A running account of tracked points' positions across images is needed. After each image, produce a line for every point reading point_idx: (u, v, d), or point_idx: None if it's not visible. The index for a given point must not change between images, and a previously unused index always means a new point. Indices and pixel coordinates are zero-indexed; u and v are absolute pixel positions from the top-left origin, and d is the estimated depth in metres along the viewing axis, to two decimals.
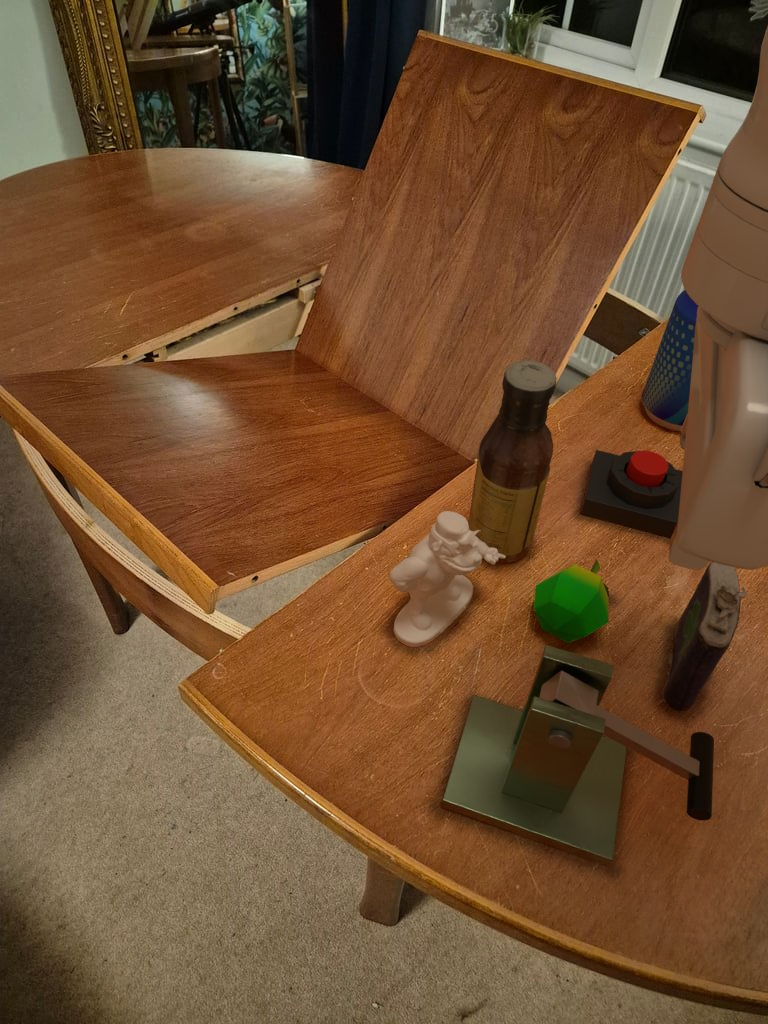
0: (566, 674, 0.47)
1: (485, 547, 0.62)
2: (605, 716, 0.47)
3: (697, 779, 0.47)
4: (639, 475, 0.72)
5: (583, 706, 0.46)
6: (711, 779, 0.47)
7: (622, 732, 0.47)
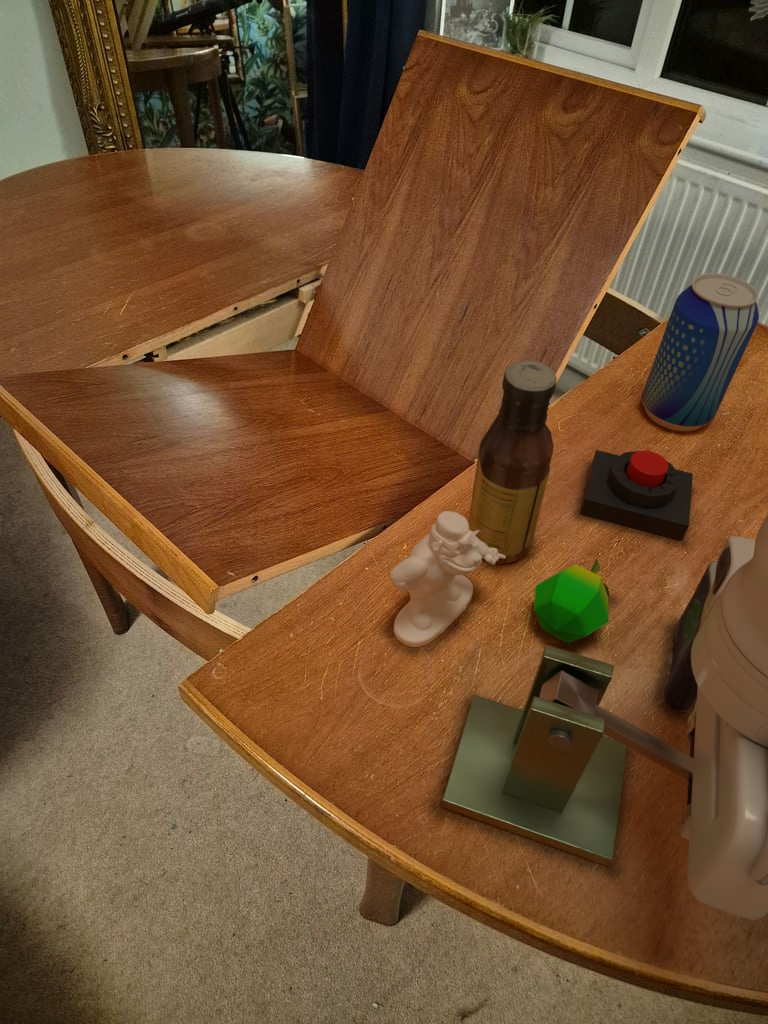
0: (566, 674, 0.47)
1: (485, 547, 0.62)
2: (605, 716, 0.47)
3: None
4: (639, 475, 0.72)
5: (583, 706, 0.46)
6: None
7: (622, 732, 0.47)
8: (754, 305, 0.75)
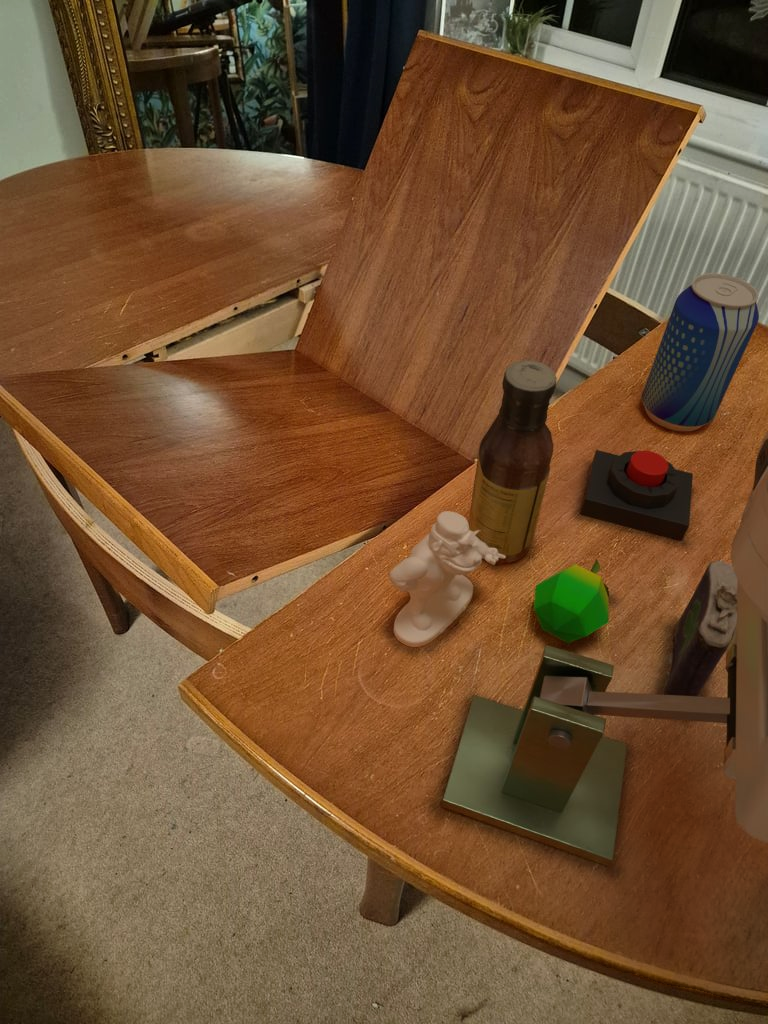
0: (549, 677, 0.48)
1: (485, 547, 0.62)
2: (605, 698, 0.46)
3: (729, 717, 0.42)
4: (639, 475, 0.72)
5: (569, 698, 0.46)
6: None
7: (627, 705, 0.45)
8: (754, 305, 0.75)
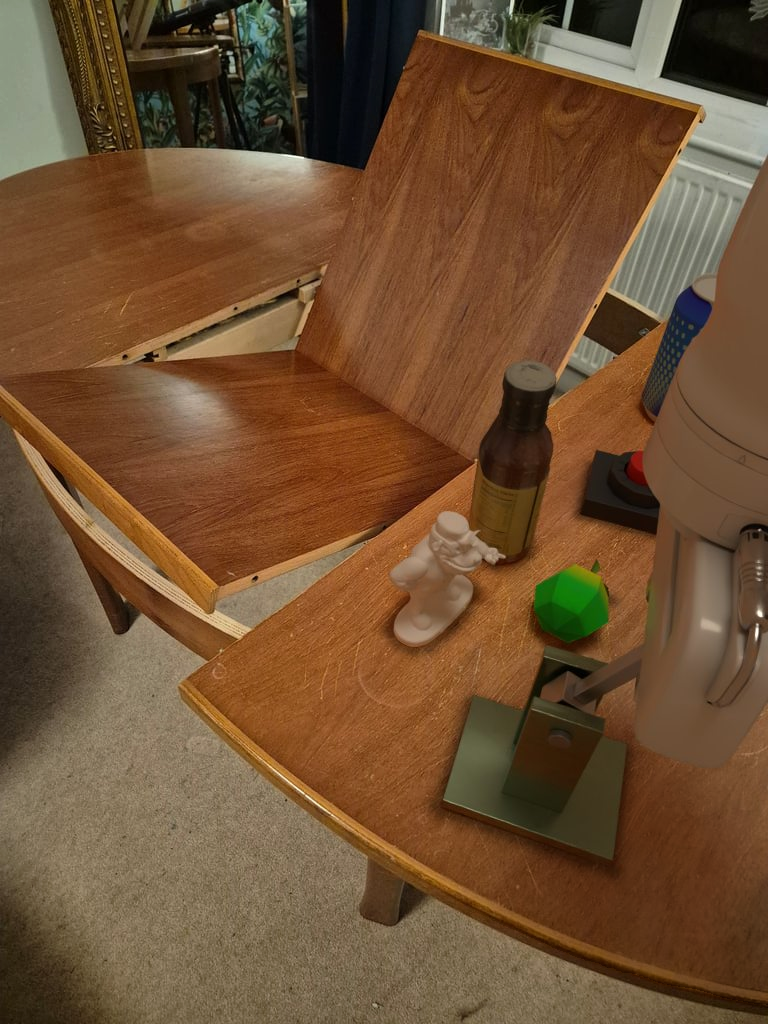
0: (545, 685, 0.48)
1: (485, 547, 0.62)
2: (585, 682, 0.45)
3: None
4: (639, 475, 0.72)
5: (555, 697, 0.46)
6: None
7: (598, 681, 0.44)
8: None
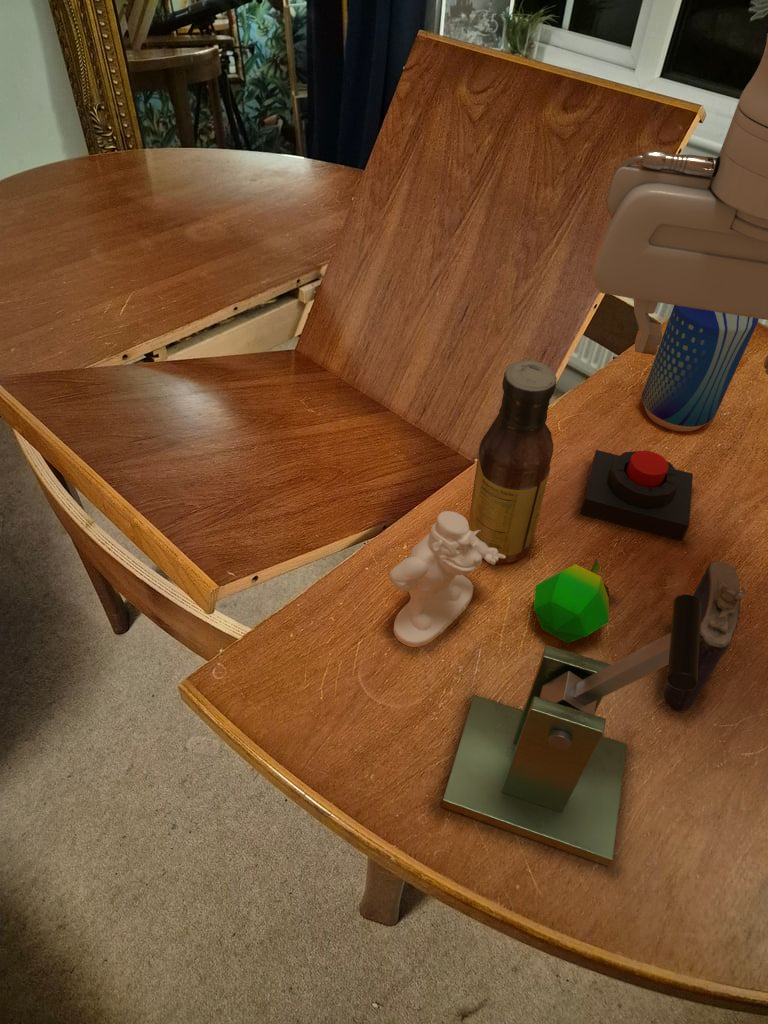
0: (545, 685, 0.48)
1: (485, 547, 0.62)
2: (586, 683, 0.45)
3: (670, 651, 0.40)
4: (639, 475, 0.72)
5: (556, 697, 0.46)
6: (679, 637, 0.39)
7: (600, 682, 0.44)
8: None
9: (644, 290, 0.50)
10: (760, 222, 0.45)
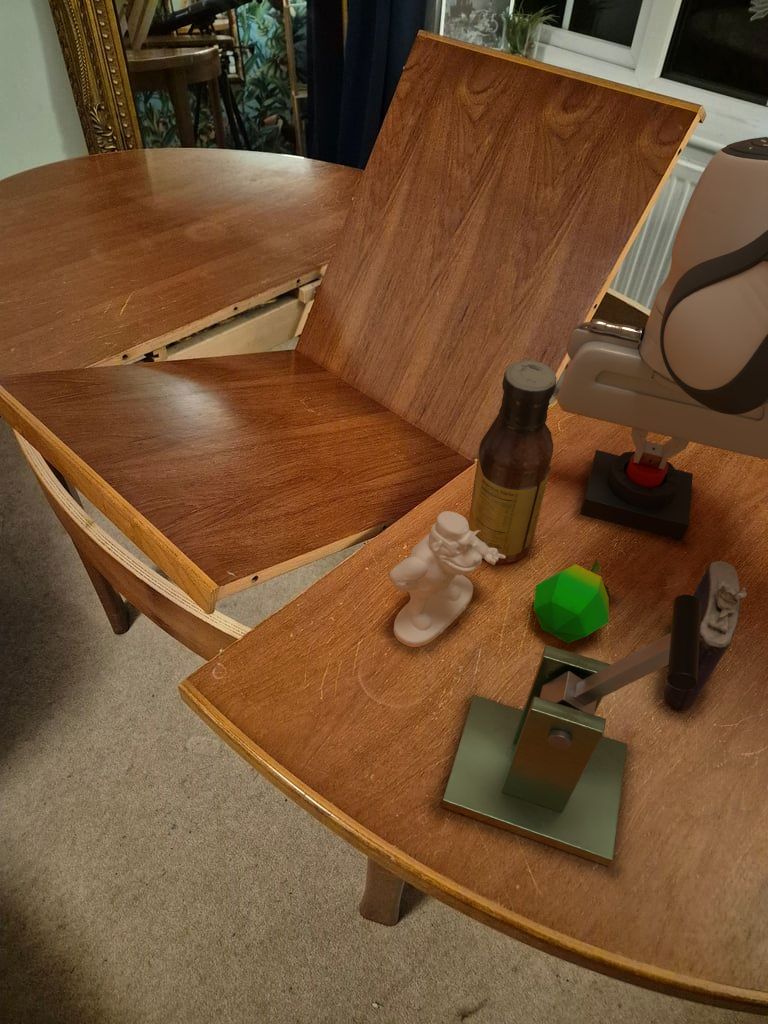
0: (545, 685, 0.48)
1: (485, 547, 0.62)
2: (586, 683, 0.45)
3: (670, 651, 0.40)
4: (639, 476, 0.72)
5: (556, 697, 0.46)
6: (679, 637, 0.39)
7: (600, 682, 0.44)
8: None
9: (594, 412, 0.69)
10: None
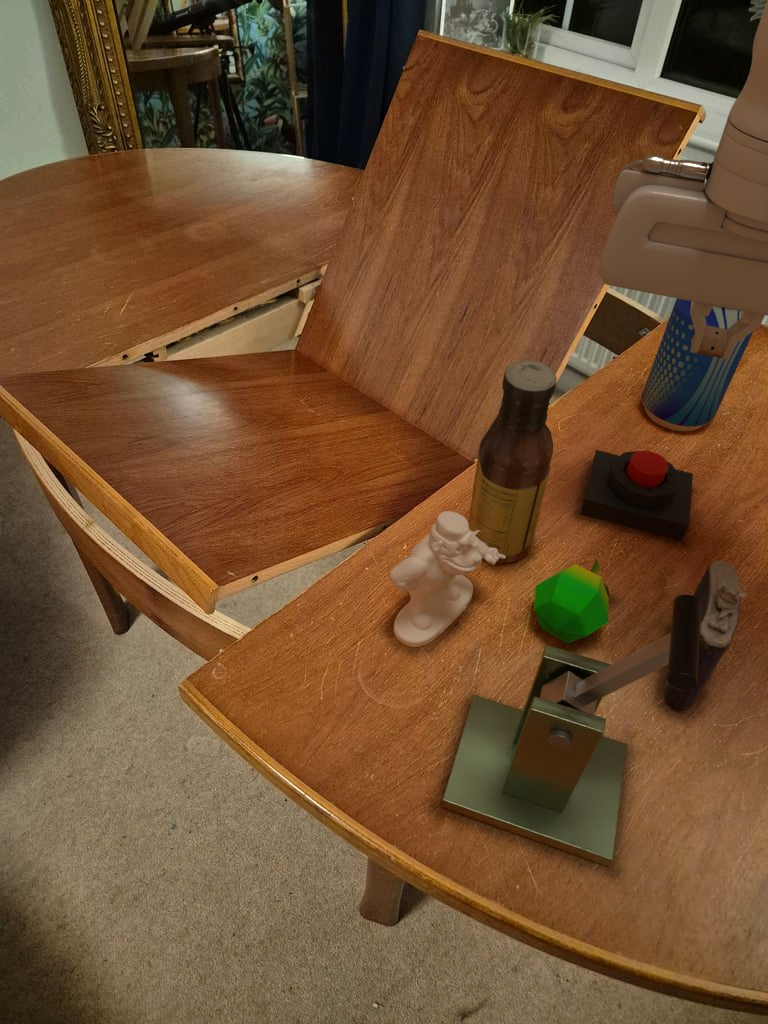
0: (545, 685, 0.48)
1: (485, 547, 0.62)
2: (586, 683, 0.45)
3: (670, 651, 0.40)
4: (639, 475, 0.72)
5: (556, 697, 0.46)
6: (679, 637, 0.39)
7: (600, 682, 0.44)
8: None
9: (644, 282, 0.55)
10: (746, 221, 0.49)
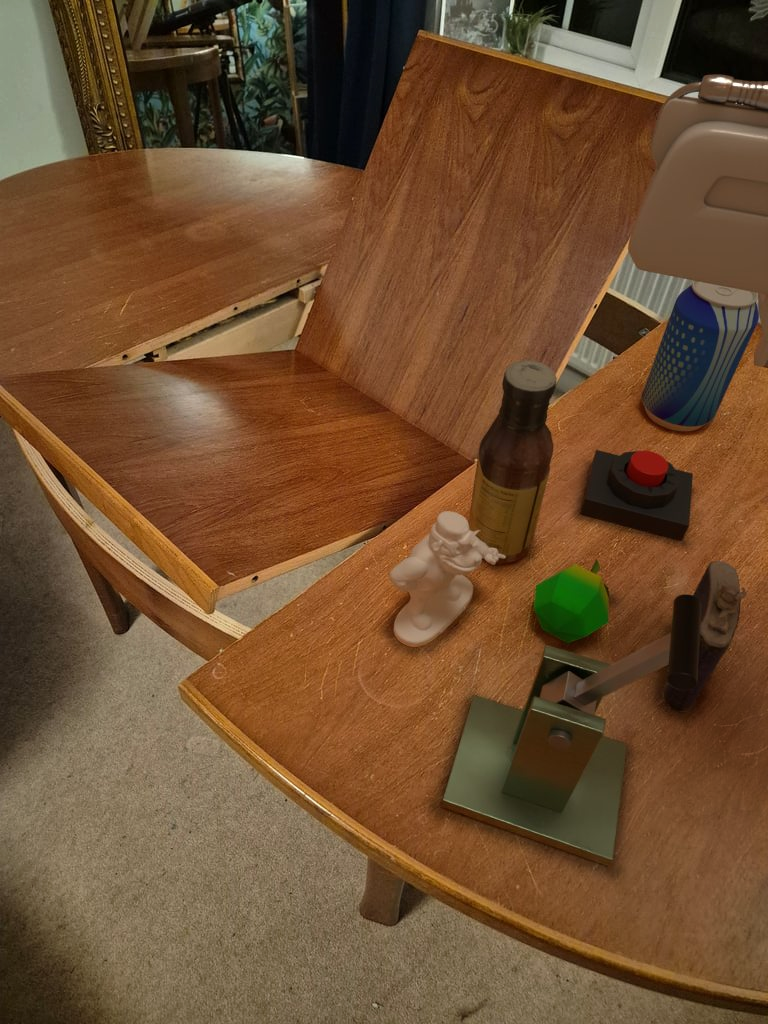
0: (545, 685, 0.48)
1: (485, 547, 0.62)
2: (586, 683, 0.45)
3: (670, 651, 0.40)
4: (639, 475, 0.72)
5: (556, 697, 0.46)
6: (679, 637, 0.39)
7: (600, 682, 0.44)
8: (754, 305, 0.75)
9: (696, 267, 0.39)
10: None
